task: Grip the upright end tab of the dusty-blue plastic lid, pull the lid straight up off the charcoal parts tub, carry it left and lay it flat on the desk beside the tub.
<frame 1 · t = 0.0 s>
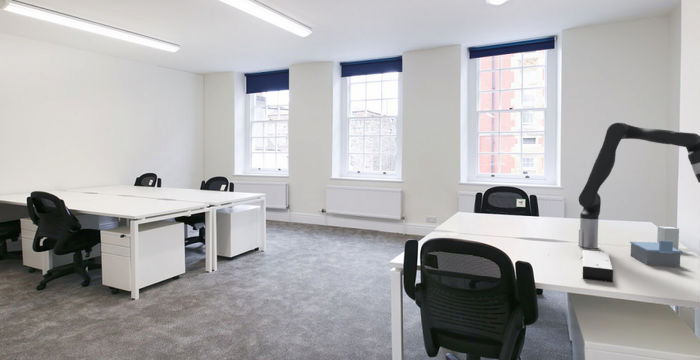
tub lid: (654, 249, 198), point 6 cm above the table, touching parts tub
laminator: (594, 271, 184), on the table
parts tub: (653, 260, 199), on the table
supplement box: (667, 249, 223), on the table
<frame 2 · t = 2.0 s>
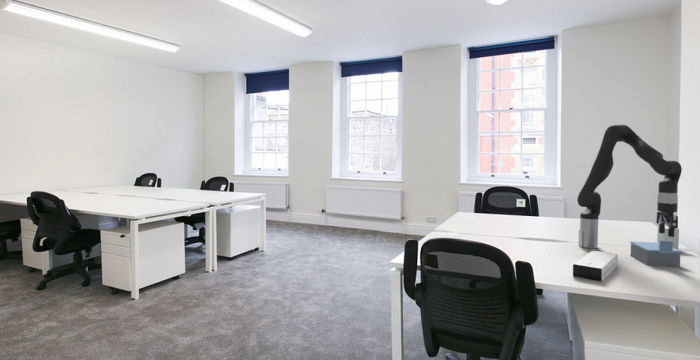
hand: (666, 234, 187), 16 cm above the table, tool pointing down, fingers open, 8 cm apart
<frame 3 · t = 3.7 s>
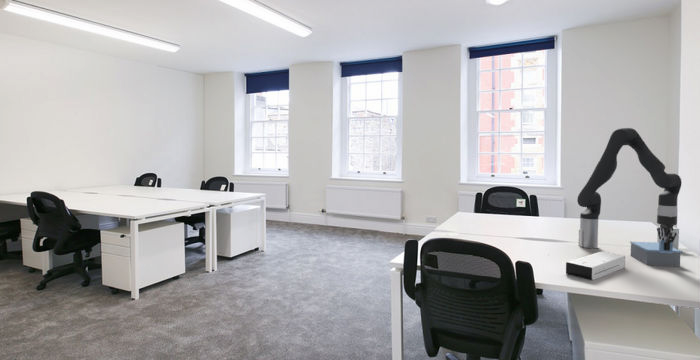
hand: (665, 249, 188), 9 cm above the table, tool pointing down, fingers closed on tub lid
tub lid: (654, 249, 198), point 6 cm above the table, touching gripper
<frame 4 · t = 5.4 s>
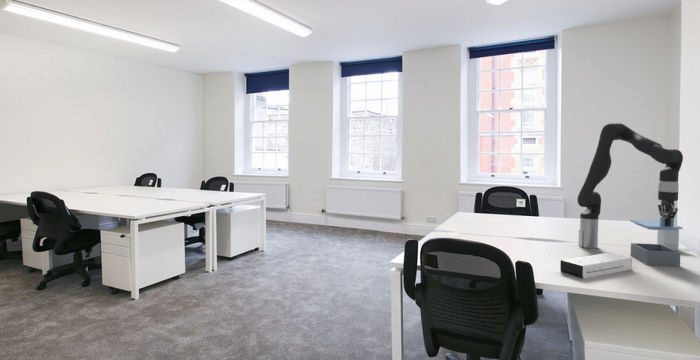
hand: (666, 225, 187), 20 cm above the table, tool pointing down, fingers closed on tub lid
tub lid: (655, 227, 198), point 18 cm above the table, touching gripper
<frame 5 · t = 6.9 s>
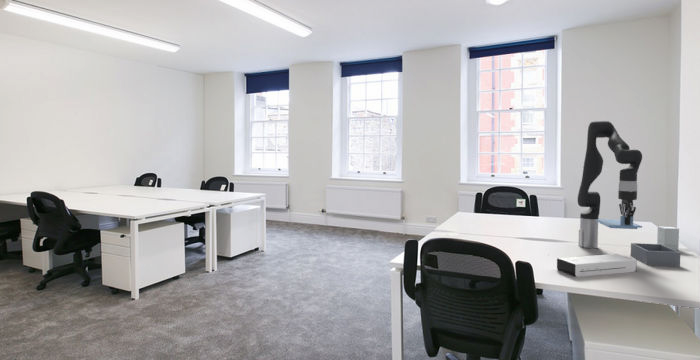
hand: (626, 224, 192), 20 cm above the table, tool pointing down, fingers closed on tub lid
tub lid: (617, 225, 202), point 18 cm above the table, touching gripper
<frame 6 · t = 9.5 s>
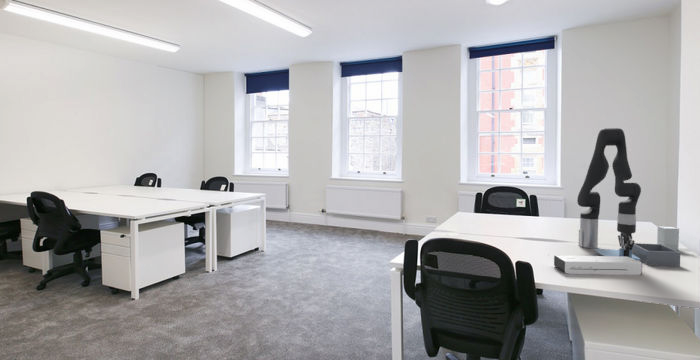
hand: (625, 256, 193), 4 cm above the table, tool pointing down, fingers closed on tub lid
tub lid: (616, 256, 203), point 1 cm above the table, touching gripper
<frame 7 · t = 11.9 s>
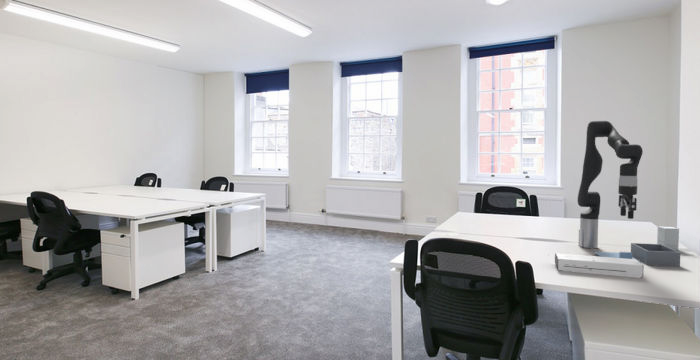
hand: (626, 217, 191), 24 cm above the table, tool pointing down, fingers open, 8 cm apart
tub lid: (616, 259, 203), on the table
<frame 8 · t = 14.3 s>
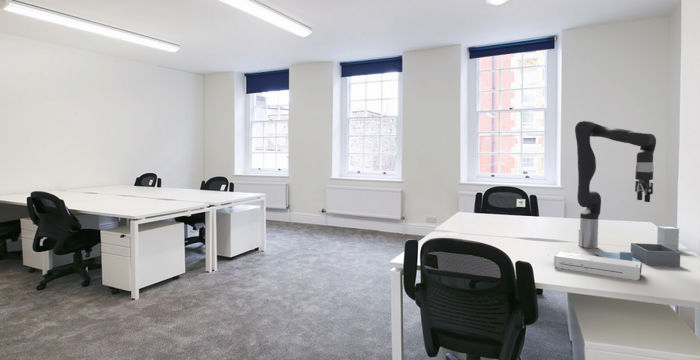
hand: (643, 201, 206), 30 cm above the table, tool pointing down, fingers open, 8 cm apart
at the end: tub lid inside the target area (0.8 cm from its centre), on the table; tub lid tilted 0°; the gripper is holding nothing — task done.
